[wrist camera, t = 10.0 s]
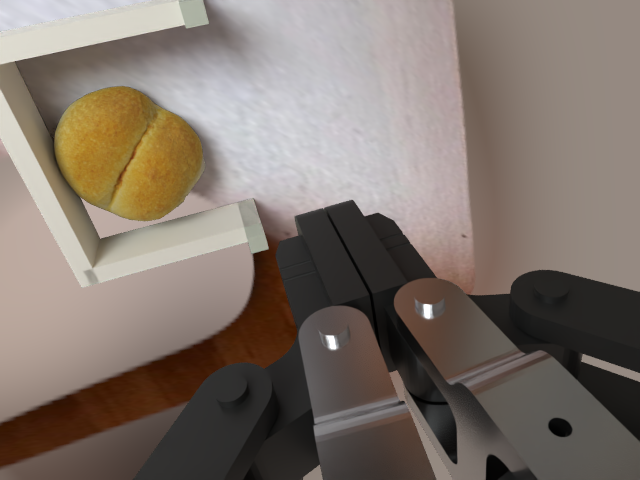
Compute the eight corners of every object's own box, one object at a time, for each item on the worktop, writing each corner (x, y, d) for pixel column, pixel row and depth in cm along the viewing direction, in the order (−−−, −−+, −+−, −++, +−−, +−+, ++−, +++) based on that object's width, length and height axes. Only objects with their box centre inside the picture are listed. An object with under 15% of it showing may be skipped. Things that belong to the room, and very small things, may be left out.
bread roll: (93, 59, 30) (84, 72, 27) (219, 137, 34) (224, 157, 31) (33, 167, 32) (17, 192, 29) (159, 227, 36) (158, 255, 33)
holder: (-23, 36, 28) (-62, 52, 23) (197, -9, 29) (202, -2, 25) (90, 256, 36) (77, 302, 31) (256, 211, 38) (268, 248, 33)
